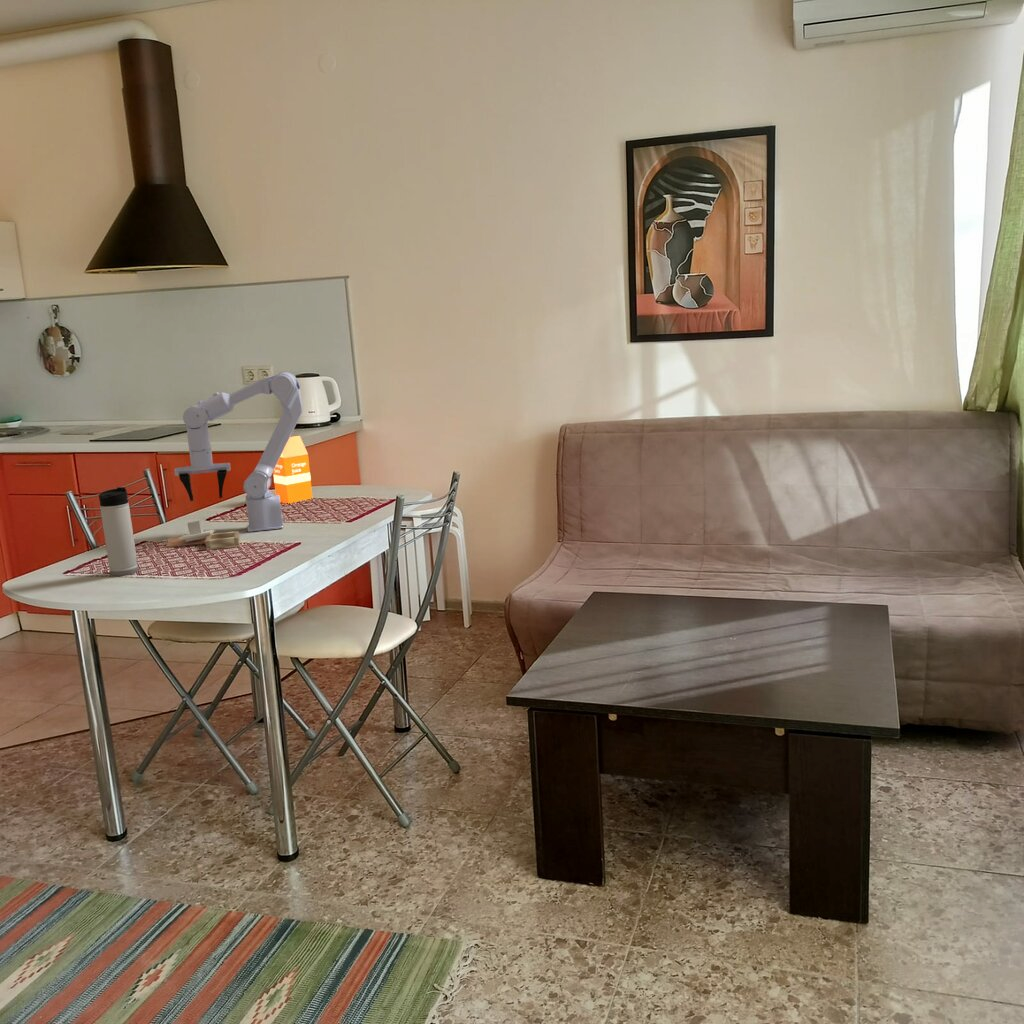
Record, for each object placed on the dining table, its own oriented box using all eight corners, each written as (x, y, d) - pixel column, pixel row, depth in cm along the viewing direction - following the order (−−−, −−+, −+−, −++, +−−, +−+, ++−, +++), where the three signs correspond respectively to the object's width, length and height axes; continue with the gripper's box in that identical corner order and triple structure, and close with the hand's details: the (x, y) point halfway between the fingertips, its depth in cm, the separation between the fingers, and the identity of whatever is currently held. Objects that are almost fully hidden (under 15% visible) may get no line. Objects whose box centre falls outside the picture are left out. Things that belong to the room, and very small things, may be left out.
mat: (212, 533, 268) (212, 532, 268) (210, 542, 257) (210, 541, 257) (170, 538, 265) (170, 536, 265) (166, 547, 255) (166, 546, 255)
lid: (215, 534, 263) (211, 517, 262) (211, 537, 255) (207, 520, 254) (184, 540, 262) (180, 523, 261) (179, 543, 254) (175, 526, 253)
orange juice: (276, 501, 310) (269, 438, 306) (300, 496, 316) (293, 434, 311) (288, 503, 304) (281, 440, 300) (313, 498, 310) (306, 436, 306)
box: (239, 539, 259) (238, 531, 258) (239, 546, 251) (238, 537, 250) (208, 543, 257) (207, 534, 256) (206, 550, 249) (205, 541, 249)
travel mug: (145, 569, 234) (133, 487, 230) (126, 576, 228) (113, 492, 223) (123, 568, 236) (111, 486, 232) (104, 575, 230) (91, 492, 226)
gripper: (228, 445, 271) (234, 493, 274) (173, 450, 267) (179, 499, 270) (227, 448, 264) (233, 498, 267) (171, 453, 261) (178, 503, 263)
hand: (206, 498), depth 268 cm, fingers open, 7 cm apart
